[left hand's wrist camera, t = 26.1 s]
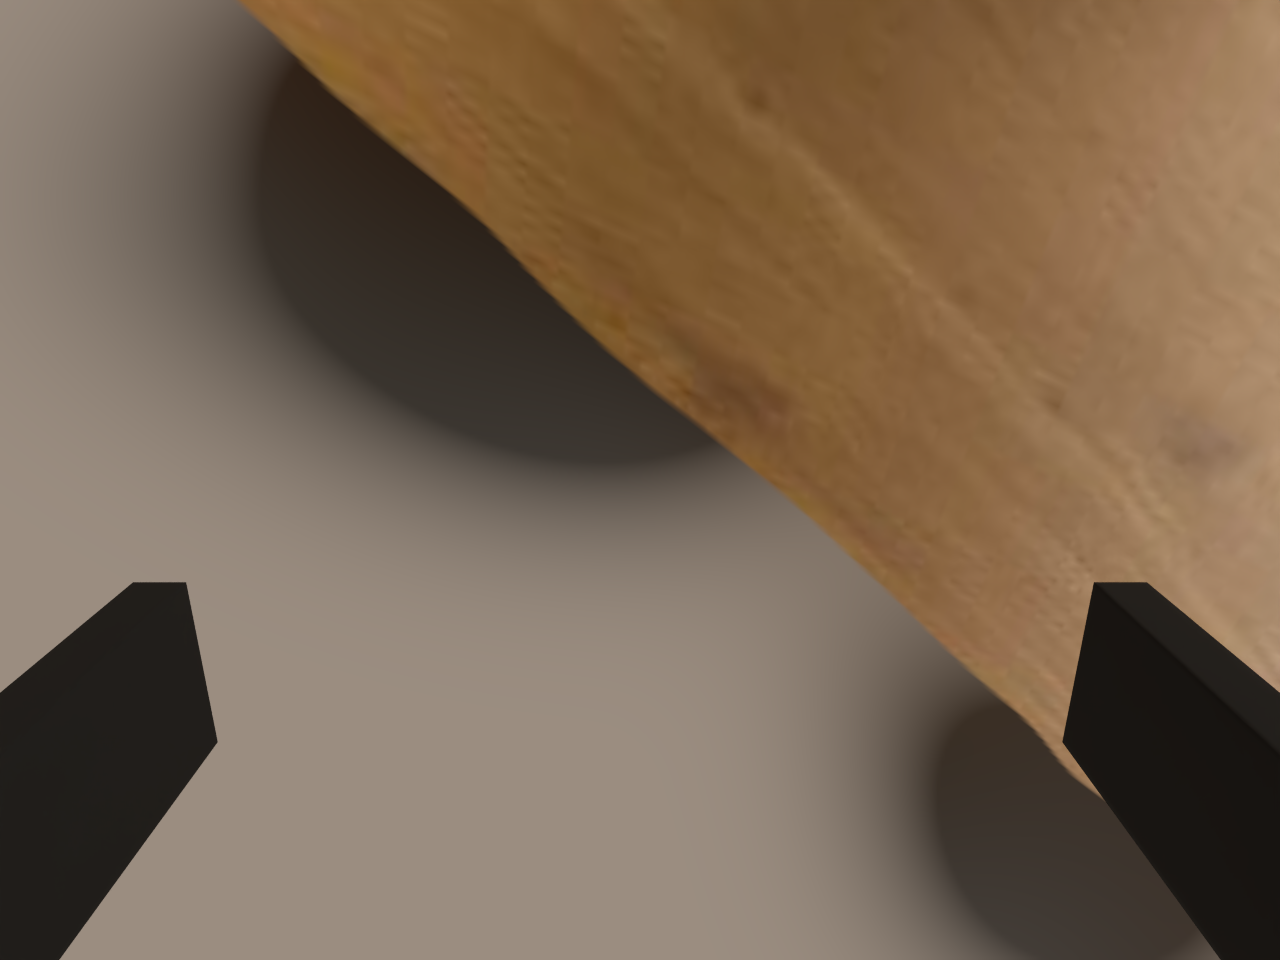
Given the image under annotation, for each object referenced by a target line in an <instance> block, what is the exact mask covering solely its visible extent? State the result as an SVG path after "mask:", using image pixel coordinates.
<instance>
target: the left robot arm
mask: <svg viewBox="0 0 1280 960" xmlns="http://www.w3.org/2000/svg"><path fill="white" fill-rule="evenodd" d="M216 744H217V737H216V731H215V726H214V721H213V716H212V711H211V706H210V701H209V696H208V691H207V686H206V681H205V676H204V671H203V666H202V661H201V656H200V650H199V645H198V640H197V635H196V630H195V625H194V620H193V615H192V610H191V605H190V600H189V595H188V590H187V585H186V582H133V583H132V584H131V585H129V586H128V587H127V588H126V589H125V590H123V591H122V592H121V593H120V594H119V595H117V596H116V597H115V598H114V599H113V600H111V601H110V602H109V603H108V604H107V605H105V606H104V607H103V608H102V609H101V610H99V611H98V612H97V613H96V614H95V615H93V616H92V617H91V618H90V619H89V620H87V621H86V622H85V623H84V624H82V625H81V626H80V627H79V628H78V629H76V630H75V631H74V632H73V633H72V634H70V635H69V636H68V637H67V638H66V639H64V640H63V641H62V642H61V643H60V644H58V645H57V646H56V647H55V648H54V649H52V650H51V651H50V652H49V653H48V654H46V655H45V656H44V657H43V658H42V659H40V660H39V661H38V662H37V663H35V664H34V665H33V666H32V667H31V668H29V669H28V670H27V671H26V672H25V673H23V674H22V675H21V676H20V677H19V678H17V679H16V680H15V681H14V682H13V683H11V684H10V685H9V686H8V687H7V688H5V689H4V690H3V691H2V692H1V693H0V960H59V959H60V958H61V957H62V955H63V954H64V952H65V951H66V950H67V948H68V947H69V946H70V944H71V943H72V941H73V940H74V939H75V937H76V936H77V935H78V933H79V932H80V931H81V929H82V928H83V926H84V925H85V924H86V922H87V921H88V920H89V918H90V917H91V915H92V914H93V913H94V911H95V910H96V909H97V907H98V906H99V904H100V903H101V902H102V900H103V899H104V897H105V896H106V895H107V893H108V892H109V891H110V889H111V888H112V886H113V885H114V884H115V882H116V881H117V880H118V878H119V877H120V876H121V874H122V873H123V871H124V870H125V869H126V867H127V866H128V864H129V863H130V862H131V860H132V859H133V858H134V856H135V855H136V853H137V852H138V851H139V849H140V848H141V847H142V845H143V844H144V842H145V841H146V840H147V838H148V837H149V836H150V834H151V833H152V832H153V830H154V829H155V827H156V826H157V825H158V823H159V822H160V820H161V819H162V818H163V816H164V815H165V814H166V812H167V811H168V809H169V808H170V807H171V805H172V804H173V803H174V801H175V800H176V798H177V797H178V796H179V794H180V793H181V792H182V790H183V789H184V788H185V786H186V785H187V783H188V782H189V781H190V779H191V778H192V777H193V775H194V774H195V772H196V771H197V770H198V768H199V767H200V766H201V764H202V763H203V761H204V760H205V759H206V757H207V756H208V755H209V753H210V752H211V750H212V749H213V748H214V746H215V745H216ZM1063 744H1064V745H1065V746H1066V748H1067V749H1068V750H1069V752H1070V753H1071V755H1072V756H1073V757H1074V759H1075V760H1076V761H1077V763H1078V764H1079V766H1080V767H1081V768H1082V770H1083V771H1084V772H1085V774H1086V775H1087V777H1088V778H1089V779H1090V781H1091V782H1092V783H1093V785H1094V786H1095V788H1096V789H1097V790H1098V792H1099V793H1100V794H1101V796H1102V797H1103V799H1104V800H1105V801H1106V803H1107V804H1108V805H1109V807H1110V808H1111V810H1112V811H1113V812H1114V814H1115V815H1116V816H1117V818H1118V819H1119V821H1120V822H1121V823H1122V825H1123V826H1124V827H1125V829H1126V830H1127V832H1128V833H1129V834H1130V836H1131V837H1132V838H1133V840H1134V841H1135V842H1136V844H1137V845H1138V847H1139V848H1140V849H1141V851H1142V852H1143V854H1144V855H1145V856H1146V858H1147V859H1148V860H1149V862H1150V863H1151V865H1152V866H1153V867H1154V869H1155V870H1156V871H1157V873H1158V874H1159V876H1160V877H1161V878H1162V880H1163V881H1164V882H1165V884H1166V885H1167V886H1168V888H1169V889H1170V891H1171V892H1172V893H1173V895H1174V896H1175V897H1176V899H1177V900H1178V902H1179V903H1180V904H1181V906H1182V907H1183V909H1184V910H1185V911H1186V913H1187V914H1188V915H1189V917H1190V918H1191V919H1192V921H1193V922H1194V924H1195V925H1196V926H1197V928H1198V929H1199V930H1200V932H1201V933H1202V934H1203V936H1204V937H1205V939H1206V940H1207V941H1208V943H1209V944H1210V946H1211V947H1212V948H1213V950H1214V951H1215V952H1216V954H1217V955H1218V957H1219V958H1220V959H1221V960H1280V693H1279V692H1278V691H1277V690H1276V689H1275V688H1273V687H1272V686H1271V685H1270V684H1269V683H1267V682H1266V681H1265V680H1264V679H1263V678H1261V677H1260V676H1259V675H1258V674H1257V673H1255V672H1254V671H1253V670H1252V669H1251V668H1249V667H1248V666H1247V665H1246V664H1245V663H1243V662H1242V661H1241V660H1240V659H1238V658H1237V657H1236V656H1235V655H1234V654H1232V653H1231V652H1230V651H1229V650H1228V649H1226V648H1225V647H1224V646H1223V645H1222V644H1220V643H1219V642H1218V641H1217V640H1216V639H1214V638H1213V637H1212V636H1211V635H1210V634H1208V633H1207V632H1206V631H1205V630H1204V629H1202V628H1201V627H1200V626H1199V625H1198V624H1196V623H1195V622H1194V621H1193V620H1192V619H1190V618H1189V617H1188V616H1187V615H1186V614H1184V613H1183V612H1182V611H1181V610H1179V609H1178V608H1177V607H1176V606H1175V605H1173V604H1172V603H1171V602H1170V601H1169V600H1167V599H1166V598H1165V597H1164V596H1163V595H1161V594H1160V593H1159V592H1158V591H1157V590H1155V589H1154V588H1153V587H1152V586H1151V585H1149V584H1148V583H1147V582H1094V585H1093V590H1092V595H1091V600H1090V605H1089V610H1088V615H1087V620H1086V625H1085V630H1084V635H1083V640H1082V645H1081V650H1080V656H1079V661H1078V666H1077V671H1076V676H1075V681H1074V686H1073V691H1072V696H1071V701H1070V706H1069V711H1068V716H1067V721H1066V726H1065V731H1064V737H1063Z"/></svg>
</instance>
